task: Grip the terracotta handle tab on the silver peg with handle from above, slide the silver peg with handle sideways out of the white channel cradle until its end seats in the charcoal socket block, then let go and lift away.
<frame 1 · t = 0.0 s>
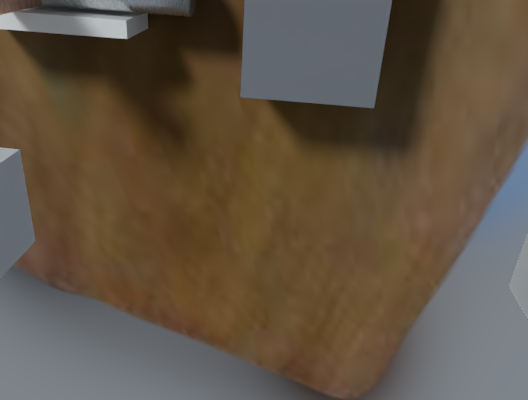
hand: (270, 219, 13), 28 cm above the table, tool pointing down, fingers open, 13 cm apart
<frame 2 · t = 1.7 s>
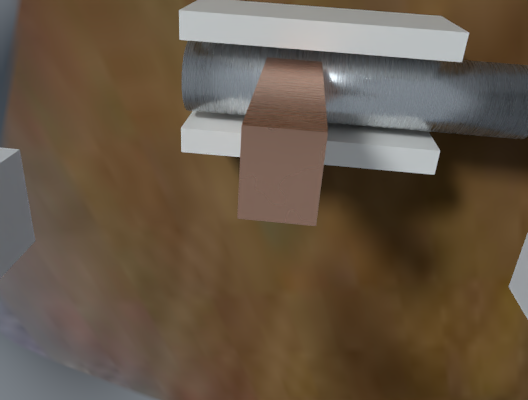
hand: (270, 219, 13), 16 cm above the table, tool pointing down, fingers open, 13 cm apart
silver peg with handle: (364, 118, 20), point 7 cm above the table, slide at 0.0 cm
white channel cradle: (313, 70, 27), on the table
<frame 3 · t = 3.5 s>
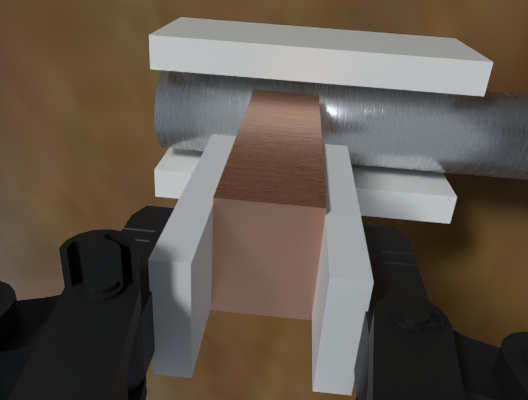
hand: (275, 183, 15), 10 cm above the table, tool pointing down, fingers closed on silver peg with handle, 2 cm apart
silver peg with handle: (369, 166, 17), point 7 cm above the table, slide at 0.0 cm, touching gripper
white channel cradle: (308, 99, 23), on the table
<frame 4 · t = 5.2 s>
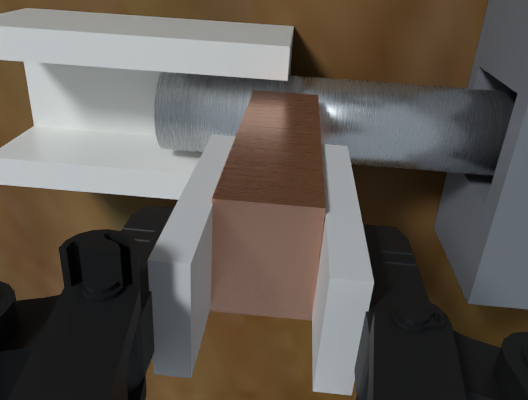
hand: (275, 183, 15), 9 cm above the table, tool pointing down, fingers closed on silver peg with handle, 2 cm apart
silver peg with handle: (369, 165, 17), point 7 cm above the table, slide at 7.0 cm, touching gripper
white channel cradle: (161, 88, 24), on the table
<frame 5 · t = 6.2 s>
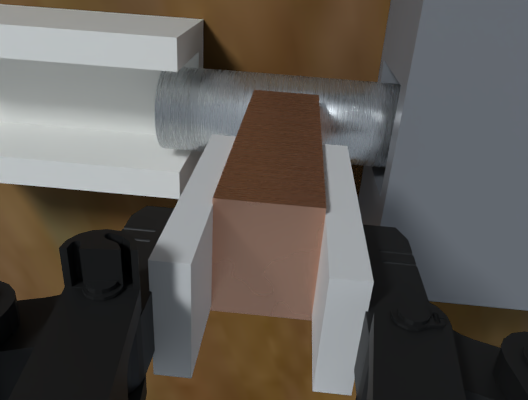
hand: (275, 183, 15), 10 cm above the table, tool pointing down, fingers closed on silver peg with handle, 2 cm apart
socket block: (461, 111, 23), on the table
silver peg with handle: (369, 166, 17), point 8 cm above the table, slide at 11.0 cm, touching gripper, socket block
white channel cradle: (78, 80, 24), on the table
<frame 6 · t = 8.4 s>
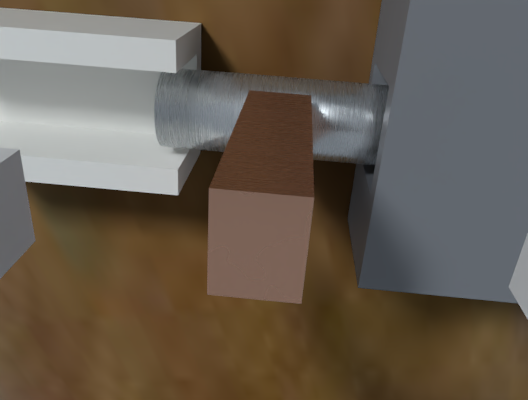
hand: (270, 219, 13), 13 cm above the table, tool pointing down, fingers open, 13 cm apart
socket block: (449, 112, 24), on the table
silver peg with handle: (358, 162, 17), point 8 cm above the table, slide at 11.0 cm, touching socket block
white channel cradle: (80, 82, 25), on the table
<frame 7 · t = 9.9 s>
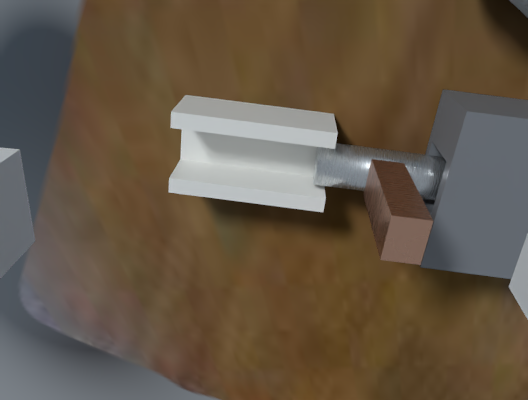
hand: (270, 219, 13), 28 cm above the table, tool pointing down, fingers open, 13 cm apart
socket block: (471, 169, 41), on the table
silver peg with handle: (432, 201, 35), point 8 cm above the table, slide at 11.0 cm, touching socket block
white channel cradle: (255, 141, 42), on the table
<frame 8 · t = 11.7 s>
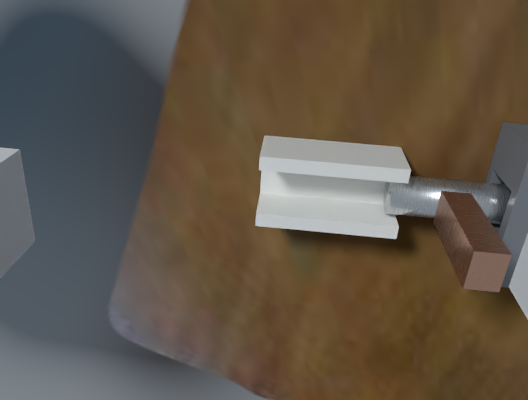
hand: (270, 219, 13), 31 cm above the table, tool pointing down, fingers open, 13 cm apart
silver peg with handle: (500, 229, 38), point 7 cm above the table, slide at 11.0 cm, touching socket block
white channel cradle: (327, 174, 46), on the table
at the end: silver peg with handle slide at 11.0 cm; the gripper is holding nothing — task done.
